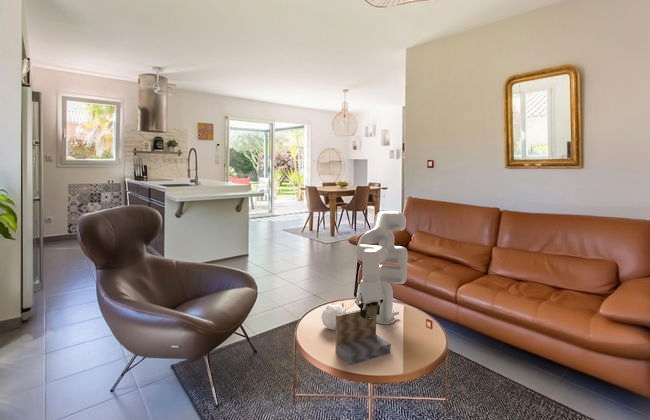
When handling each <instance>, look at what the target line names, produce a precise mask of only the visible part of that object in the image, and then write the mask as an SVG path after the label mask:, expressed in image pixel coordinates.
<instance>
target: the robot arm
mask: <svg viewBox="0 0 650 420" xmlns="http://www.w3.org/2000/svg"><path fill="white" fill-rule="evenodd" d="M406 226H407V217H406V216H405V215H404V213H402V212H400V211H379V212H378V213H376V215H374V217H373V223H372V228H371V229H370V230H368V231H366V232H365V233H364V234H363V235H361V236H360V238H359V240H358V243H357V246H356V248H355V249H356V250H355V256H356V259H357V260H358V261H361V262H362V273H361V274H362V276H361V280H360V281H359V286H358V295H357V298H356V299H355V300H354V304H356V306H357V307H358V308H359V310H360V316H361V317H362V318H364V319H365V318H366V310H365V307H366V305H367V304H369V303H373V302H377V303H379V305H378V311H377V321H376V324H379V325H391V324H394V323H395V322H396V318H395V316H398V315H400V312H399V310H398V311H397V310H396V311H394V310H393V307H394V306H393V303H394V301H393V300H394V290H393V287H392V285H391V284H397V285H398V284H399V285H403V284H405V283H406V282H407V278H408V257H409V255H408V254H409V253H408V249H407V248H406V247H405V246H400V245H395V239H396V237H395V235H394V233H393V231H398V232H399V231H401V232H402V231H405V229H406ZM376 243H378V245H372V244H376ZM382 263H389V264H382ZM391 264H392V265H391ZM393 264H397V265H393ZM363 304H364V305H363Z"/></svg>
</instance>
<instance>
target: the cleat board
mask: <svg viewBox="0 0 650 420" xmlns="http://www.w3.org/2000/svg"><path fill="white" fill-rule="evenodd" d="M376 321H377V314H376V316H374V319H373V320H367V319H366V318H365V319H364V318H362V317H361V316H360V309H357V310H352V311H348V312H346V313H343V314H338V315H336V330H335V350H334V351H335V352H334V353H335V354H336V355H338V356H339V357H340V358H341V359H342V360H343V361H345V363H346V364H348V365H349V366H353V365H356V364H360V363H363V362H365V361H369V360H374V359H375V358H380V357H383V356H386V355H389V354H391V343H390V342H389V341H386V339H384V338H383V337H381V336H380V335H378V334H377V323H376Z"/></svg>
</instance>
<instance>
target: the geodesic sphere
mask: <svg viewBox="0 0 650 420" xmlns="http://www.w3.org/2000/svg"><path fill="white" fill-rule="evenodd" d="M343 313H347V312H346V310H345V309H344V308H343V306H342V305H341V304H337V303H331V304H328V305H326V306H325V307H324V308H323V309H322V312H321V317H320V318H321V322H322V324H323V325H324V327H326V329H328V330H332V331H336V315H338V314H343Z"/></svg>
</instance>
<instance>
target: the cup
mask: <svg viewBox="0 0 650 420" xmlns="http://www.w3.org/2000/svg"><path fill="white" fill-rule="evenodd" d="M363 305H364V304H363ZM378 305H379V303H377V302H373V303H369V304H367V305H366V307H365V310H366V319H367V320H373V319H374V316H376V314H377V311H378Z"/></svg>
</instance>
